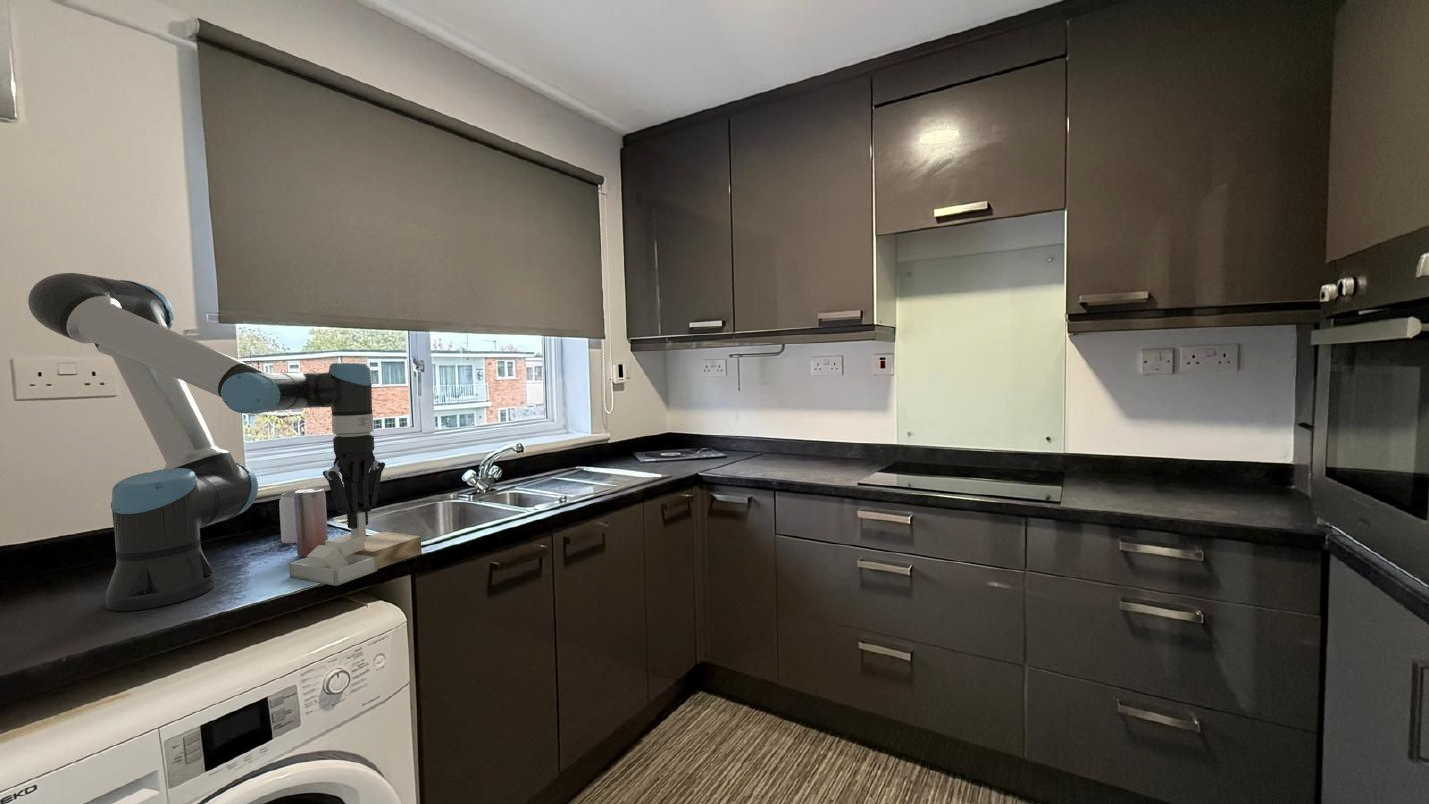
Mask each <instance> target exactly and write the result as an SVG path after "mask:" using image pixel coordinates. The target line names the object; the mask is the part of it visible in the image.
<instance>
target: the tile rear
mask: <svg viewBox="0 0 1429 804" xmlns="http://www.w3.org/2000/svg"><path fill="white" fill-rule="evenodd" d="M325 545H326V546H330V547H336V548H337V549H338V551H339V552H340V554H341V555H342V556H343V557H344V556H347V555H350V554H353V553H355V552H358V551H361V550H364V549H365V543H364V536H363V535H356V534H351V533H345V534H342V535H339V536H335V537H332V538H328V540H325Z"/></svg>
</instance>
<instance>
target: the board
mask: <svg viewBox="0 0 1429 804" xmlns="http://www.w3.org/2000/svg"><path fill="white" fill-rule="evenodd" d="M364 543H365V549H364V550H361V551H358V552H355V553H354V554H361V555H367V556H374V557H377V570H380V569H382V568H384V567H387V566H390V565H393V564H395V563H398V562H401V561H402V562H403V561H404V560H407V559H410V558H413V557H415V556H419V555H421V554H423V553H422V536H420V535H413V534H404V533H399V532H392V531H391V532H390V531H380V532H377V533H374V534H371V535H366V542H364Z"/></svg>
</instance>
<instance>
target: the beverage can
mask: <svg viewBox="0 0 1429 804" xmlns="http://www.w3.org/2000/svg"><path fill="white" fill-rule="evenodd" d="M294 492H295V495H294V507H295V524H296V541H297V543H296V554H297V555H298V557H300V558H302V559H304V558H307V555H308V554H309V553H311V552H312V551H313V550H314V549H315V548H316V547H317V546H319V545H323V546H326V545H325V540H328V539H329V536H328V535H329V534H328V519H327V518H328V517H327V501H326V492H325V489H324V487H314V488H313V487H309V488H304V489H298V490H295V491H294Z"/></svg>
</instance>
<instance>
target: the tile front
mask: <svg viewBox="0 0 1429 804" xmlns="http://www.w3.org/2000/svg"><path fill="white" fill-rule="evenodd" d="M307 557H308V558H309V559H310V560H311V562H312V563H313V564H314V566H318V567H324V568H330V569H335V570H336V569H339V568H342V567H345V566H347V565H348V563H347V562H346V560H345V559H344V558H343V556H342V555H341V554H340V552H339V551H338V549H337V548H336V547H330V546H323V545H319V546H317V547H316V548H315V549H314V550H313V551H312V552H311V553H309V554H308V555H307Z"/></svg>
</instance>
